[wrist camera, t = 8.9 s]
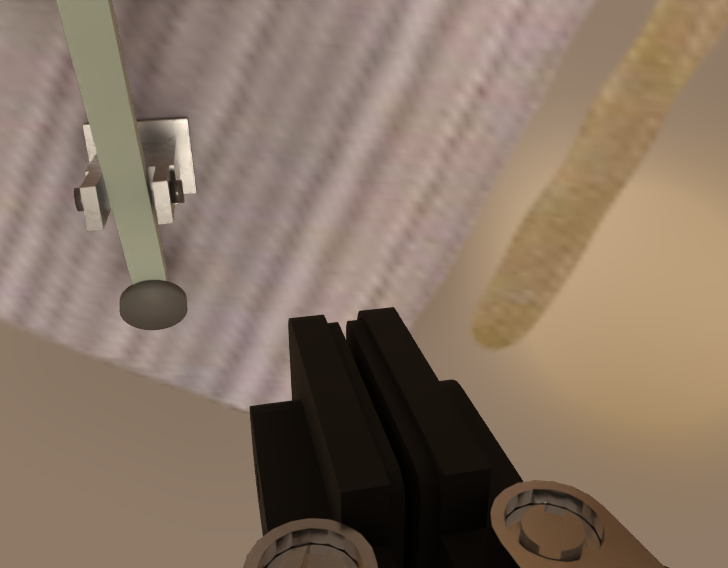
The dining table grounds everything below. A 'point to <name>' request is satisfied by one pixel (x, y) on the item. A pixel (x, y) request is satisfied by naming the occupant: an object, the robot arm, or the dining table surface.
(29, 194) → the dining table surface
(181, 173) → the pivot stand
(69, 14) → the lever
